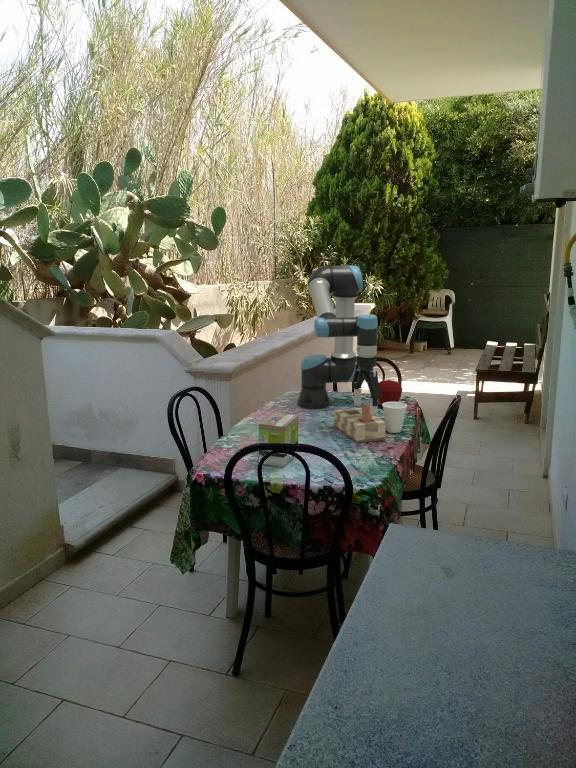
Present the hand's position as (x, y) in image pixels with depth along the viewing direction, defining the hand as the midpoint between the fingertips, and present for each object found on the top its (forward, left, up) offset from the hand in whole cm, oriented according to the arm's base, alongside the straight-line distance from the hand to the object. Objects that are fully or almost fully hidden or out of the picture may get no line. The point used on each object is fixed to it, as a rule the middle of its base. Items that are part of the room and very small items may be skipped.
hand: (365, 409), depth 227 cm
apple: (-36, +30, -11) cm, 48 cm away
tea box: (+10, -39, -12) cm, 42 cm away
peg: (0, 0, -10) cm, 10 cm away
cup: (-3, +14, -11) cm, 19 cm away
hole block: (-6, 0, -11) cm, 12 cm away
